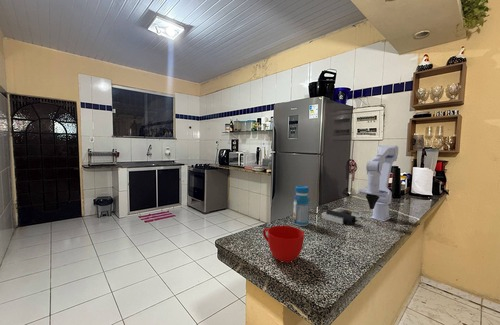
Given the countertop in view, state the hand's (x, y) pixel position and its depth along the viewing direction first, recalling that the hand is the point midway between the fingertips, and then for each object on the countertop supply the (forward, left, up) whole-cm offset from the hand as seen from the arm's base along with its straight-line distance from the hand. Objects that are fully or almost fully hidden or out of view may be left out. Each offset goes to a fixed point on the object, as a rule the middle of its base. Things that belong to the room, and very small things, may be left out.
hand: (371, 208), depth 119 cm
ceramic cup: (+65, -5, -9) cm, 66 cm away
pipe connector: (+5, -13, -9) cm, 17 cm away
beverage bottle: (+30, -23, -9) cm, 39 cm away
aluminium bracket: (+2, -16, -9) cm, 18 cm away
